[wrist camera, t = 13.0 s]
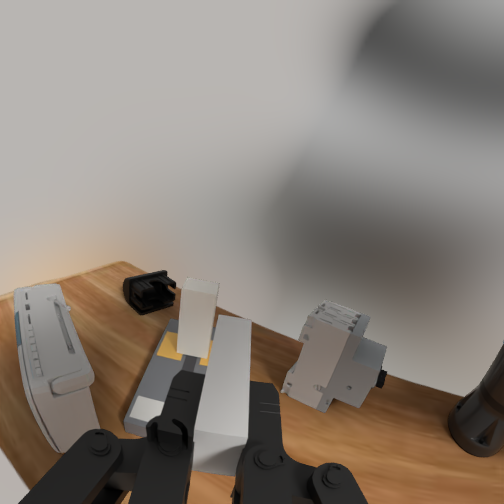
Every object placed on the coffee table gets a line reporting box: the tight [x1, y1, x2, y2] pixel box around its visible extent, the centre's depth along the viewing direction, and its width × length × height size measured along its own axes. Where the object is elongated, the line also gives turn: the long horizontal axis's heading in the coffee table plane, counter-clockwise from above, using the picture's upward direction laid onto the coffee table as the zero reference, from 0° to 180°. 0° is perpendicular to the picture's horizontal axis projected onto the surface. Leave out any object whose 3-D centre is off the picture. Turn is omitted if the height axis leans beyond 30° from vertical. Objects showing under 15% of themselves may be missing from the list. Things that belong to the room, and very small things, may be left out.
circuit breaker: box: [281, 299, 387, 413], centre depth 41 cm, size 8×14×15 cm, turn 58°
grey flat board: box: [123, 319, 216, 437], centre depth 41 cm, size 12×26×3 cm, turn 179°
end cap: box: [123, 270, 176, 315], centre depth 60 cm, size 10×7×7 cm
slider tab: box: [177, 277, 219, 359], centre depth 44 cm, size 5×4×12 cm
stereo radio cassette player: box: [14, 284, 100, 453], centre depth 27 cm, size 21×8×20 cm, turn 43°
